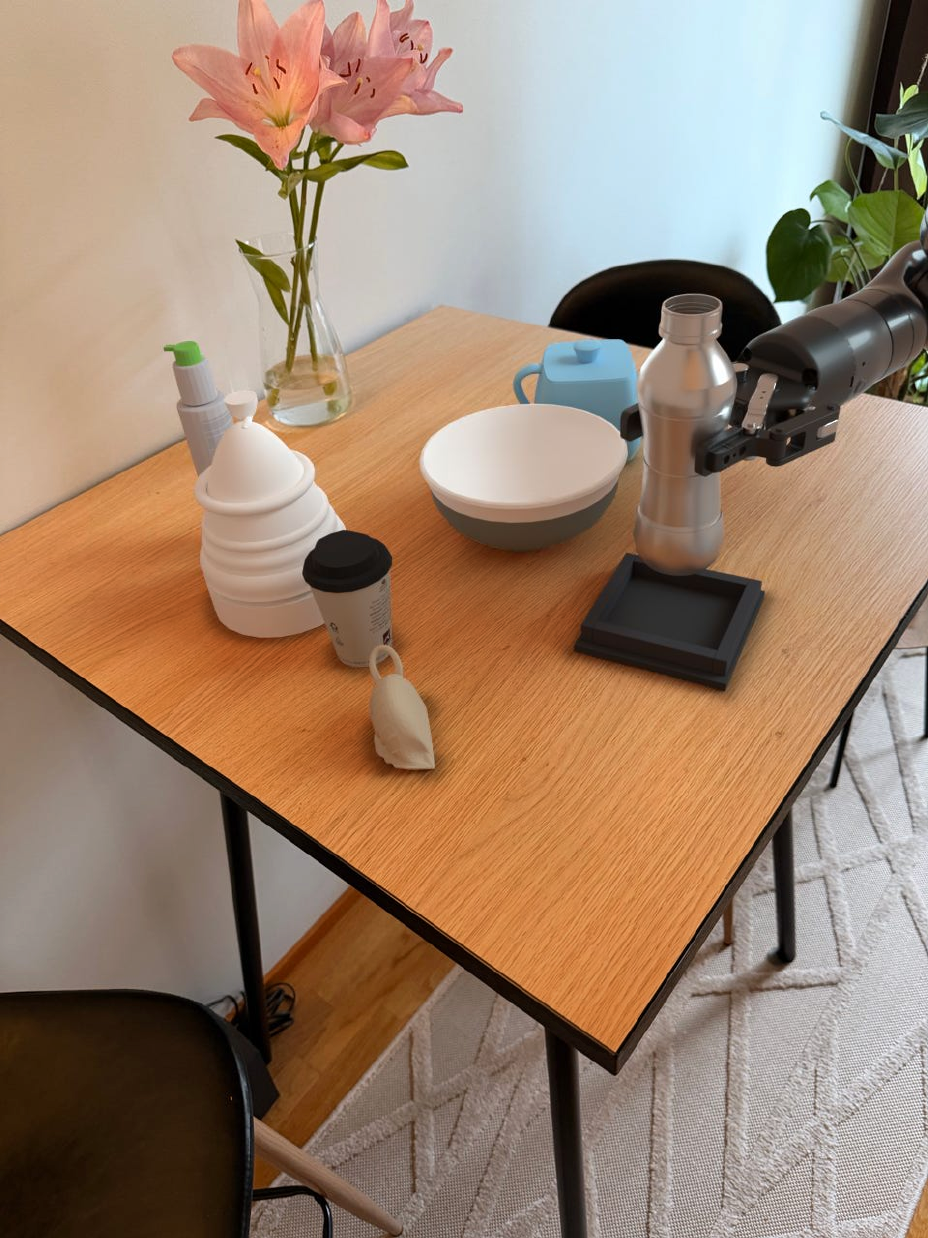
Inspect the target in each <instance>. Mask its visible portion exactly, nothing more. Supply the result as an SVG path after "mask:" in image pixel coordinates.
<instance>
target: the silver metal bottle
mask: <svg viewBox="0 0 928 1238" xmlns="http://www.w3.org/2000/svg"><path fill="white" fill-rule="evenodd" d="M722 315H723V301H721V300H720V299H719V298H717V297H716V296H713V295H708V294H704V293H685V294H679V295H674V296H671V297H668V298H667V299H666V300H664V301H663V302H662V306H661V315H660V316H661V318H660V323H659V325H658V334H659V336H660V337H661V338H662V340H661V341H660V342H659V343H658V344H657V345H656V346H655V347H654V349H652V351H651V352H650V354H649V355H648V357H646V360H645V361H644V362H643V364H642V365H641V367H640V370H639V373H638V374H637V375H638V378H637V382H636V386H637V398H638V406H639V413H640V420H641V427H642V438H641V441H642V453H643V457H642V462H643V463H642V464H643V470H642V479H641V487H640V497H639V504H638V506H637V509H636V514H635V520H634V525H633V530H632V534H633V535H632V536H633V539H634V545H635V551H636V553H637V555H639V556H640V558H641V559H642V560H643V561H644V562H645V563H646V564H647V566H649V567H650V568H652V569H653V570H655V571H657V572H660V573H663V574H668V575H674V576H686V575H693V574H696V573H699V572H702V571H704V570H705V569H708V568H709V567H711V566H712V564H714V563H715V562H716V561H717V559H718V558H719V556H720V554H721V551H722V548H723V544H724V541H725V537H726V536H725V533H726V532H725V518H724V513H723V508H722V482H721V481H722V479H721V477H722V475H721V474H722V473H721V472H722V471H721V472H717V473H712V474H710V475H708V476H706V477H704V476H701V475H699V474H697V473H695V471H694V467H695V454H696V449H697V447H698V446H699V445H700V444H701V443H703V442H705V441H707V440H708V439H710V438H712V437H714V436H716V435H718V434H720V433H721V432H723V431H725V430H727V429H729V420H730V416H731V412H732V408H733V404H734V399H735V396H736V389H737V378H736V374H735V370H734V367H733V365H732V363H731V362H732V361H731V360H730V358H729V356H728V353H726V351H725V350H724V348H723V347H722V345H721V344H720V343H719V342H718V340H717V339H718V338H719V337H720V336H721V334H722V329H723V323H722Z"/></svg>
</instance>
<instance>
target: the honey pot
mask: <svg viewBox="0 0 928 1238" xmlns="http://www.w3.org/2000/svg"><path fill="white" fill-rule="evenodd" d="M224 401H225V404H226V407H227V409H228V410H229V412H230V413H231V416H232V417H234V418H235V419H237V420H239V421H237V422H234V425H232V426H231V427H230V428H229V429H228V430H227V431H226V432H225V433H224V435H223V436H222V438H221V440H220V442H219V444H218V446H217V448H216V451H215V454H214V457H213V460H212V464H211V466H209V467H208V468H207V469H206V470H205V471H203V472H202V473H201V474H200V475H199V477H198V476H197V479H196V480H195V483H194V484H193V496H194V498H195V500H196V502H197V504H198V506H200V507H202V508H203V509H204V513H203V515H202V517H201V547H200V551H199V553H200V554H199V565H200V569H201V571H202V573H203V578H204V580H205V585H206V588H207V590H208V593H209V596H210V599H211V603H212V605H213V608H214V611H215V613H216V615H217V617H218V620H219V622H221V624H222V625H224V626H225V627H226V628H227V629H229V630H230V631H234V632H235V633H238V634H240V635H242V636H247V637H252V638H259V639H268V638H269V639H270V638H283V637H289V636H294V635H299V634H302V633H305V632H308V631H311V630H313V629H316V628H318V627H320V626H323V625H325V622H324V620H323V617H322V615H321V612H320V610H319V607H318V605H317V602H316V600H315V598H314V595H313V593H312V590H311V588H310V585H309V584H307V583H306V582H305V580H304V577H303V575H302V571H303V565H304V561H305V559H306V557H307V556H308V554H309V553H310V551H312V550H313V549H314V548H315V546H316V543H317V541H318V539H320V538H322V537H324V536H326V535H328V534H330V533H334V532H338V531H341V530H347V528H346V525H345V524H344V522H343V521H342V520H341V518H340V516H339V515H338V514H337V513H336V511H335V508H334V507H333V506H332V505H331V503H330V501H329V498H328V495H326V493H325V492H324V490H322V489H323V488H321V487H319V486H318V485H317V483H316V482H315V478H316V469H315V465H314V463H313V462H312V461H311V460H310V458H309V457H308V456H307V455H305V454H303V453H301V452H300V451H297V450H295V449H294V450H293V449H290V448H289V447H288V446H287V444H286V443H285V442H284V441H283V440H282V439H281V438H280V437H278V436H277V435H276V433H274V432H273V431H271V430H270V429H268V428H267V427H266V426H264V425H262V424H261V423H258V422H254V421H253V419H254V416H255V415H256V413H257V411H258V403H259V402H258V394H257V392H256V391H254V390H250V389H243V390H237V391H236V390H235V391H234V392H231V393H229V394H226V397H225V399H224Z"/></svg>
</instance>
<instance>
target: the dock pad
mask: <svg viewBox="0 0 928 1238" xmlns="http://www.w3.org/2000/svg"><path fill="white" fill-rule="evenodd" d="M762 583H763V581H762V580H758V579H754V578H750V577H746V576H741V575H736V574H730V573H726V572H722V571H717V570H713V569H708V568H707V569H705V570H704V571H702V572H699V573H696V574H693V575H686V576H674V575H668V574H663V573H660V572H657V571H655V570H653V569H652V568H650V567H649V566H647V564H646V563H645V562H644V561H643V560H642V559H641V558H640V556H639V555H638V554H635V553H631V552H626V553H624V556H622V558H621V560H620V561H619V563H618V565H617V566H616V568H615V570H614V571H613V573H612V574H611V576H610V578H609V579H608V581H607V582H606V584H605V585H604V587H603V589H602V590H601V592H600V593H599V595H598V596H597V598H596V600H595V602H593V604H592V606H591V608H590V609H589V611H588V612H587V614H586V616H585V617H584V619H583V620H582V621H581V624H580V633H579V635H578V637H577V639H576V641H575V642H574V644H573V650H574V653H578V654H581V655H585V656H589V657H593V658H596V659H600V660H604V661H608V662H612V663H616V664H620V665H623V666H627V667H631V668H634V669H639V670H642V671H646V672H648V673H649V672H650V673H654V674H658V675H661V676H665V677H667V678H672V679H677V680H681V681H684V682H686V683H687V682H688V683H692V684H695V685H699V686H703V687H707V688H710V689H714V690H718V691H722V692H726V691H727V688H728V686H729V683H730V681H731V679H732V675H733V674H734V671H735V668H736V666H737V664H738V661H739V659H740V657H741V655H742V652H743V650H744V647H745V646H746V642H747V640H748V638H749V636H750V633H751V631H752V628H753V627H754V624H755V621H756V618H757V617H758V614H759V611H760V609H761V607H762V605H763V602H764V599H765V595H766V591H765V590H762Z"/></svg>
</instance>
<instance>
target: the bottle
mask: <svg viewBox="0 0 928 1238" xmlns="http://www.w3.org/2000/svg"><path fill="white" fill-rule="evenodd" d="M163 352H172V353H173V355H174V361H173V362H172V370H173V375H174V378H175V383H176V386H177V390H178V394H179V396H180V398H179V399H178V401H177V402H176V410H177V414H178V417H179V420H180V424H181V426H182V429H183V434H184V436H185V440H186V443H187V447H188V450H189V452H190V455H191V458H192V461H193V465H194V469H195V471H196V475H197V478H198V477H199V475H200V474H201V473H202V472H203V471H205V470H206V469H207V468H208V467H209V466H211V464H212V460H213V457H214V454H215V451H216V448H217V446H218V444H219V442H220V440H221V438H222V436H223V435H224V433H225V432H226V431H227V430H228V429H229V428H230V427H231V426H232V425H234V424H235V422H234V420H233V415H232V414H231V413H230V412H229V410H228V409H227V407H226V404H225V401H224V399H225V397H226V396H227V394H225V393H224V392H223V391H222V390H218V387H217V385H216V384H217V383H216V381H215V377H214V374H213V371H212V368H211V366H210V362H209V359H208V357H207V356H206V355H203V354H202V352H201V349H200V346H199V344H198V342H197V341H193V340H186V341H181V342H178V343H176V344H166V345H165V346H164V347H163Z"/></svg>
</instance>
